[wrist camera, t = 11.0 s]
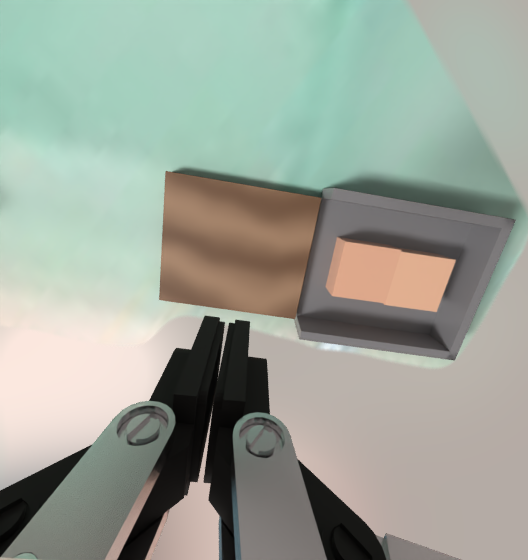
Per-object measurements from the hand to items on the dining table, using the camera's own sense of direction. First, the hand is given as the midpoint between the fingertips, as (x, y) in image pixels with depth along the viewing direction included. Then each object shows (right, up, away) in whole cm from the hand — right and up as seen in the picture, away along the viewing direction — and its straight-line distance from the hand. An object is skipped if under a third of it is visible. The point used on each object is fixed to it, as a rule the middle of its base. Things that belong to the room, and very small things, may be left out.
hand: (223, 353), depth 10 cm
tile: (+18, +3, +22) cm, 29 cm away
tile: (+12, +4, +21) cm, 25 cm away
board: (-2, +6, +21) cm, 22 cm away
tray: (+16, +4, +22) cm, 27 cm away
